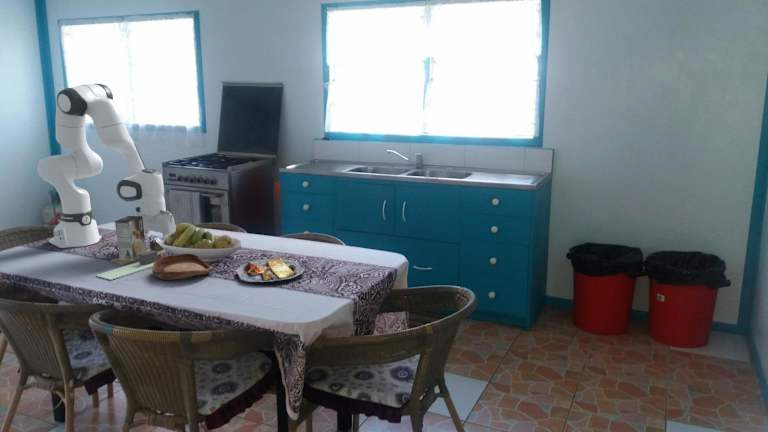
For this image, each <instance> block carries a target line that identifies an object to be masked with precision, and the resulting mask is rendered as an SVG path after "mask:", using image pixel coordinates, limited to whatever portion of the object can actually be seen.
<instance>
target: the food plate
mask: <svg viewBox="0 0 768 432" xmlns="http://www.w3.org/2000/svg"><path fill="white" fill-rule="evenodd" d="M235 271H236V273H237V275H238V277H239V278H240V280H241V281H244V282H247V283H248V282H249V283H270V282H271V283H272V282H279V281H284V280H289V279H293V278H295V277H297V276H299V275H301V274H302V273H303V272H304V271H305V269H304V266H303V265H302V264H301V263H299V262H298V261H296V260H292V259H284V258H282V257H281V256H278V257H274V258H267V259H265V258H264V259H258V260H252V261H247V262H246V263H244V264H241V265H240V266H238V267H237V269H236V270H235Z"/></svg>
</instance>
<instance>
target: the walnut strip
mask: <svg viewBox="0 0 768 432" xmlns="http://www.w3.org/2000/svg"><path fill="white" fill-rule="evenodd" d="M160 239H163V237H161V238H160ZM156 240H157V239H154V240H149V248H148V249H146V252H148V251H151V250H153V251H157V256H160V255H163V254H166V253H167V252H166V251H165V250H163V248H162V247H161V246H160V245H159V244H158V243H157V242H156ZM109 262H110V263H113V264H116V265H121V266H127V265H130V264H133V263H136V262H140V261H139V259H137V260H135V261H122V260H120V257H118V258H115V259H111V260H110V261H109Z"/></svg>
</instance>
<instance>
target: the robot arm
mask: <svg viewBox="0 0 768 432" xmlns="http://www.w3.org/2000/svg"><path fill="white" fill-rule="evenodd" d="M56 102H57V103H56V108H55V109H56V110H55V121H54V123H55V140H56V142H57V143H58V144H59V145H60V146H62V147H64V148H66V149H69V153H64V154H63V153H62V154H56V155H50V156H47V157H46V156H45V157H44V158H41V159H40V160H39V162H38V163H37V173H38V175H39V177H40V178H41V179H42V180H43V181H45V182H47V183H48V184H50V185H51V186H53V187H54V188H55V190H56V192H57V193H58V197H59V199H60V205H61V209H62V212H59V214H60V215H59V216H60V222H59V223H58V224H57V225H56V226H55V227H54V228H53V232H52V233H53V238H49V239H48V243H49V244H52V245H54V246H56V247H57V248H60V249H66V248H80V247H86V246H90V245H94V244H96V243H98V242H100V240H101V239H102V235H100V234H99V228H98V225H97V221H96V220H95V219H94V212H93V211H94V210H93V209H92V207H91V199H90V198H91V197H90V194H89V192H88V191H87V189H84V188H82V187H80V186H77V185H76V184H75V180H78V179H79V180H80V179H86V178H91V177H94V176H97V175H99V174H101V172H102V171H103V169H104V162H103V159H102V158H101V156H100V155H99V154H98V153H97V152H95V151H93V150H92V149H91V147H90V146H89V144H88V142H87V132H86V131H87V129H86V128H87V126H86V125H87V123H86V120H87V119H86V115H87V116H89V117H90V118H91V120H92V122H93V125H94V128H95V132H96V135H97V137H98V139H99V141H100V143H101V144H102V145H103V146H104V147H106V148H108V149H110V150H113V151H116V152H118V153H119V154H121V155H122V157H123V159H124V160H125V163H126V164H127V168H128V169H129V171H130V176H127V177H125V178H122V179H121V180H119V181H118V183H117V185H116V193H117V195H118V197H119V198H120V199H121V200H122V201H124V202H135V201H141V205H136V206H135V207H134V210H133V211H134V212H135V215H134V216H142V219H143V227H144V235H145V240H148V241H153V235H152V234H151V231H152V232H156V233H159V234H162V236H163V237H162V238H163V239H162V240H164V239H165V238H166V237H168V236H170V235H172V234H174V232H175V233H176V230H177V229H176V224H175V219H174V216H173V214H172V213H171V212H170V210H169V211H168V210H167V209H166V199H165V195H164V193H165V186H164V179H163V176H162V174H161V172H160V171H159V170H157V169H155V168H154V169H153V168H147V166H146V165H145V163H144V160H143V158H142V156H141V154H140V152H139V149H138V147H137V145H136V143H135V141H134V140H133V138H132V137H131V135H130V133H129V131H128V128H127V125H126V123H125V120H124V117H123V115H122V113H121V111H120V108H119V107H118V105H117V103H116V102H115V101H114V96H113V92H112V90H111V88H110V87H108V85H105V84H102V83H93V84H92V83H91V84H89V83H88V84H82V85H76V86H73V87H66V88H64V89H62V90H60V91H59V92H58V93H57V95H56ZM168 238H169V237H168Z"/></svg>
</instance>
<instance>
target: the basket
mask: <svg viewBox="0 0 768 432" xmlns="http://www.w3.org/2000/svg"><path fill="white" fill-rule="evenodd" d="M212 269H213V266H212V265H209V264H208V263H206V262H205V261H204V260H203V259H202V258H200V256H199V255H197V254H194V253H189V252H188V253H180V254H176V255H175V254H174V255H171V254H169V255H166V256H164V257H160V258H159V259H158V260H156V261H155V262H154V264H153V267H152V275H153V276H155V277H156V278H158V279H161V280H163V281H164V280H166V281H174V280H180V279H181V280H182V279H184V278H191V277H194V276H205V275H207V274H210V272H211V271H212Z"/></svg>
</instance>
